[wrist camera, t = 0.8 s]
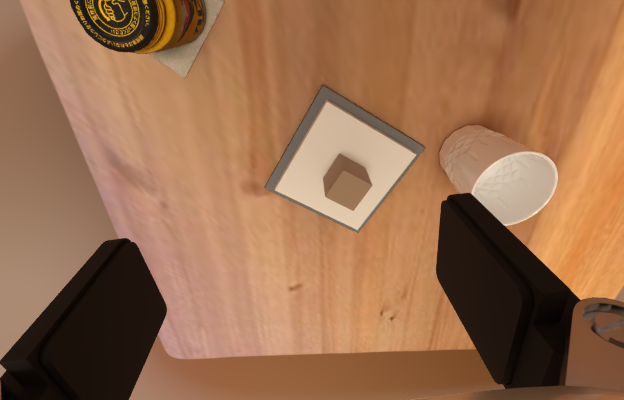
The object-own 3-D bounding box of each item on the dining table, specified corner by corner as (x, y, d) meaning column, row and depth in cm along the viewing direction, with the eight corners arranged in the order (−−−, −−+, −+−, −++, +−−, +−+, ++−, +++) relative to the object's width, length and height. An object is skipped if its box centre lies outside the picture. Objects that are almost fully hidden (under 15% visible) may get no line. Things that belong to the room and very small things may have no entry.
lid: (326, 99, 35) (330, 113, 30) (413, 151, 38) (430, 171, 33) (275, 185, 40) (271, 210, 35) (356, 224, 43) (363, 252, 38)
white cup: (508, 118, 37) (571, 150, 28) (490, 180, 41) (541, 225, 32) (439, 120, 37) (482, 152, 28) (428, 181, 41) (462, 227, 32)
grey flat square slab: (322, 84, 34) (323, 85, 34) (423, 146, 38) (425, 147, 38) (265, 186, 40) (264, 188, 40) (357, 230, 44) (358, 233, 44)
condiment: (224, 1, 30) (184, -5, 20) (185, 78, 34) (133, 106, 23) (150, -57, 28) (62, -98, 18) (116, 31, 31) (24, 40, 21)
